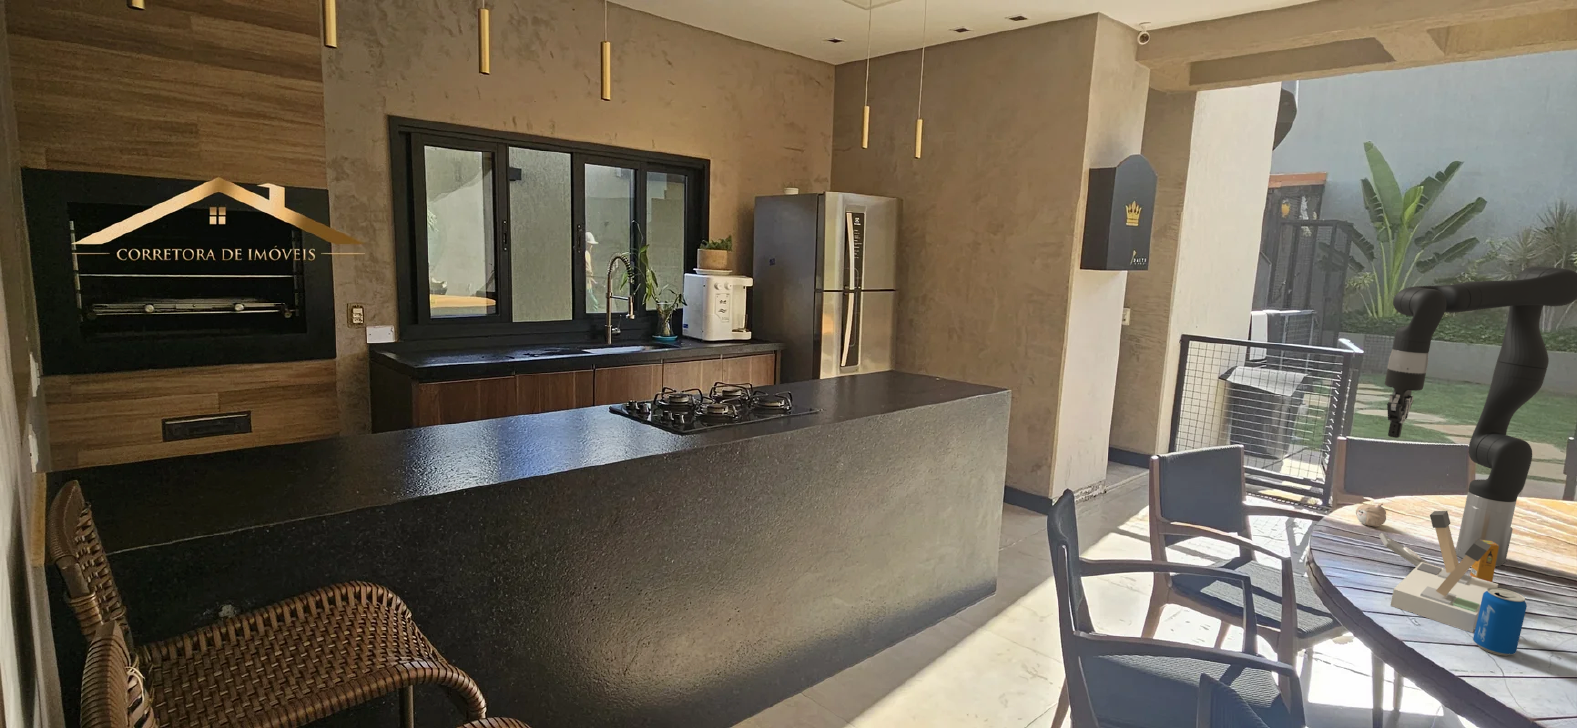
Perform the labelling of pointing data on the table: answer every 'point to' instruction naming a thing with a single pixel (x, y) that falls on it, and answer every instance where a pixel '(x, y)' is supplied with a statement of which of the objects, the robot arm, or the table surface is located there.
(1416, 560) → the light switch
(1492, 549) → the supplement box
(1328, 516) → the table surface
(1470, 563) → the tan lever
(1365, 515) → the brown hamster figurine
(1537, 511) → the table surface
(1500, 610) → the beverage can
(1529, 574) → the table surface
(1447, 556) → the lever charcoal
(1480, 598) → the switch unit
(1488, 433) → the robot arm
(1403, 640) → the table surface
